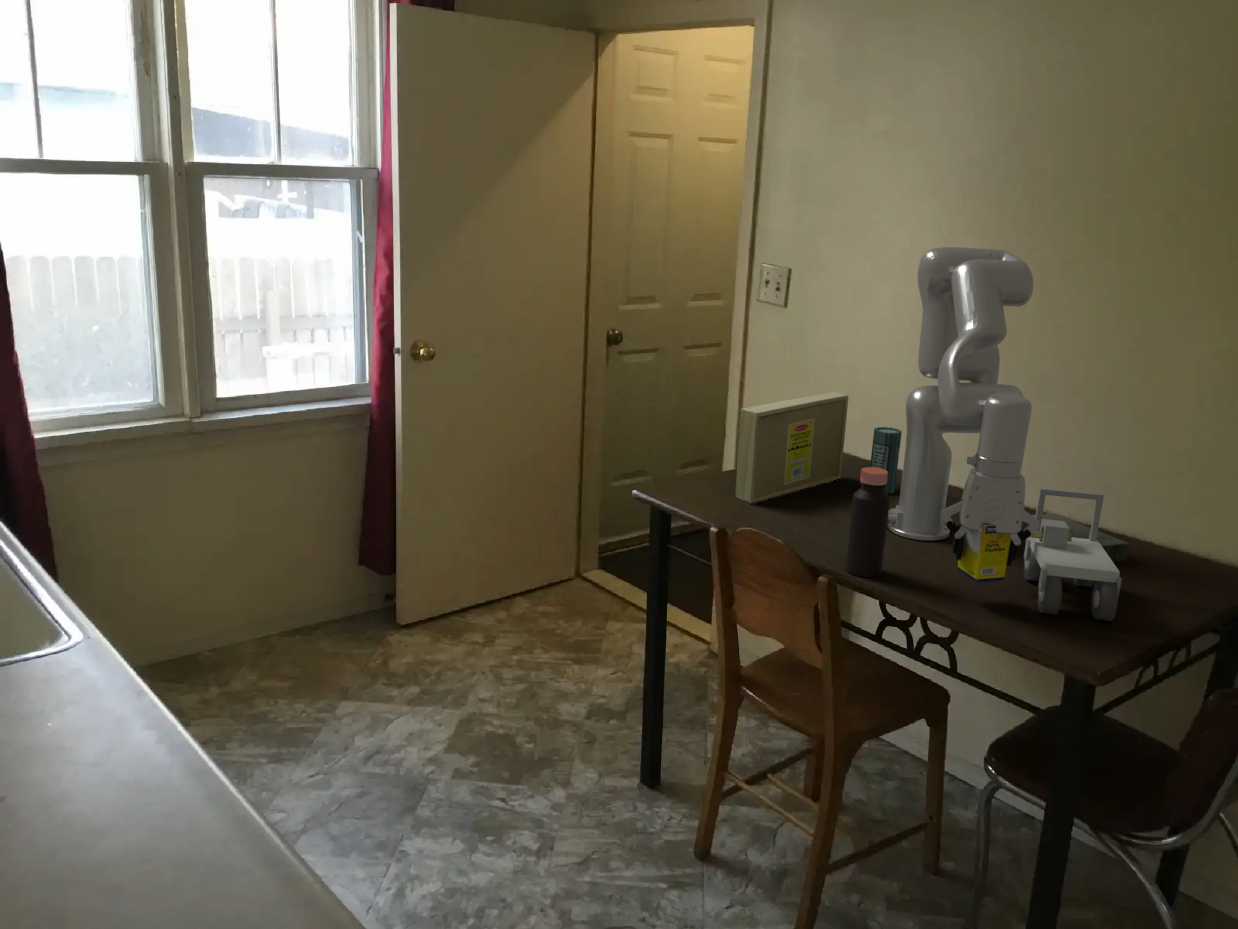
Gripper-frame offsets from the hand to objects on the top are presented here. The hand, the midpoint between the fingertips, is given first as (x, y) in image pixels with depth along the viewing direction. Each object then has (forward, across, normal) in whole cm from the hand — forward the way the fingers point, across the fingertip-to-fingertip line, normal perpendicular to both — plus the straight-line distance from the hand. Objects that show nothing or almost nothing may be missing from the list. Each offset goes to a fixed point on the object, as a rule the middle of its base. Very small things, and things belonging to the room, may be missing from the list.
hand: (982, 559), depth 185 cm
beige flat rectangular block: (+11, -36, +58) cm, 70 cm away
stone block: (+10, +22, +36) cm, 43 cm away
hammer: (+1, +10, +10) cm, 14 cm away
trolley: (+8, +16, +6) cm, 19 cm away
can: (+11, -15, +66) cm, 68 cm away
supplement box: (+3, 0, 0) cm, 3 cm away
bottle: (+9, -20, +8) cm, 23 cm away
